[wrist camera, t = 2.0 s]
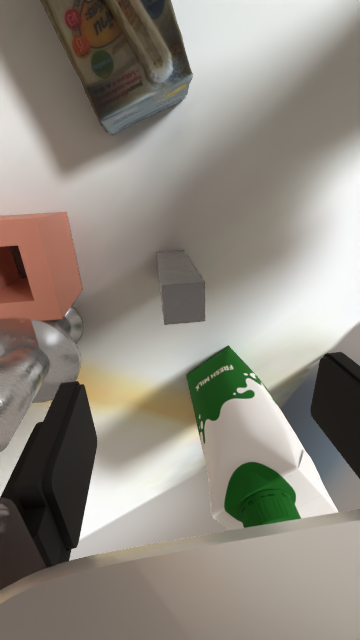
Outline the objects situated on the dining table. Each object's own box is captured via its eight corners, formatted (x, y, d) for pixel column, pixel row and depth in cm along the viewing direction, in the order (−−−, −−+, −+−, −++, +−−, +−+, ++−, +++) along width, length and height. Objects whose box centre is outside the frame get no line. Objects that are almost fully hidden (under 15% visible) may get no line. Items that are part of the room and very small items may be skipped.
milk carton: (230, 336, 35) (320, 489, 17) (264, 379, 38) (368, 543, 20) (176, 374, 36) (205, 551, 18) (214, 412, 40) (269, 591, 22)
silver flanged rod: (86, 284, 30) (28, 367, 15) (100, 353, 34) (64, 472, 19) (1, 291, 29) (-142, 384, 15) (25, 361, 33) (-70, 490, 19)
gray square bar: (183, 250, 30) (204, 281, 19) (185, 277, 31) (204, 321, 20) (156, 252, 29) (161, 285, 18) (158, 279, 31) (164, 324, 20)
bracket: (66, 212, 27) (36, 218, 19) (87, 310, 31) (69, 345, 24) (-19, 217, 26) (-82, 225, 19) (15, 316, 31) (-27, 354, 23)
